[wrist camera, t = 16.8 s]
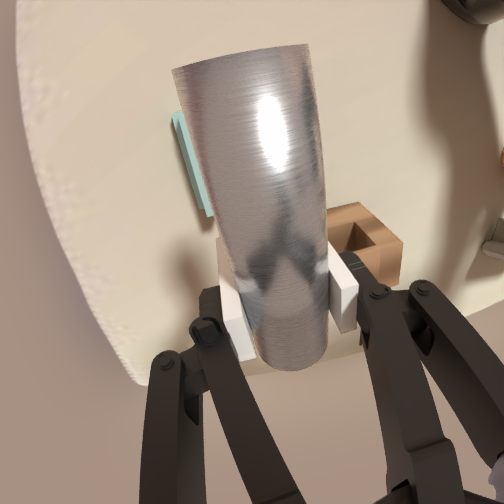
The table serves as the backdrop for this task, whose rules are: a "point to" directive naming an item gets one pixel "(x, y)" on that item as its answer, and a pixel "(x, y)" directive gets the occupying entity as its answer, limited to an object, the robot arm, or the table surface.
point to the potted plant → (503, 158)
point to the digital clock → (496, 242)
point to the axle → (266, 191)
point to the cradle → (191, 162)
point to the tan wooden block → (366, 241)
